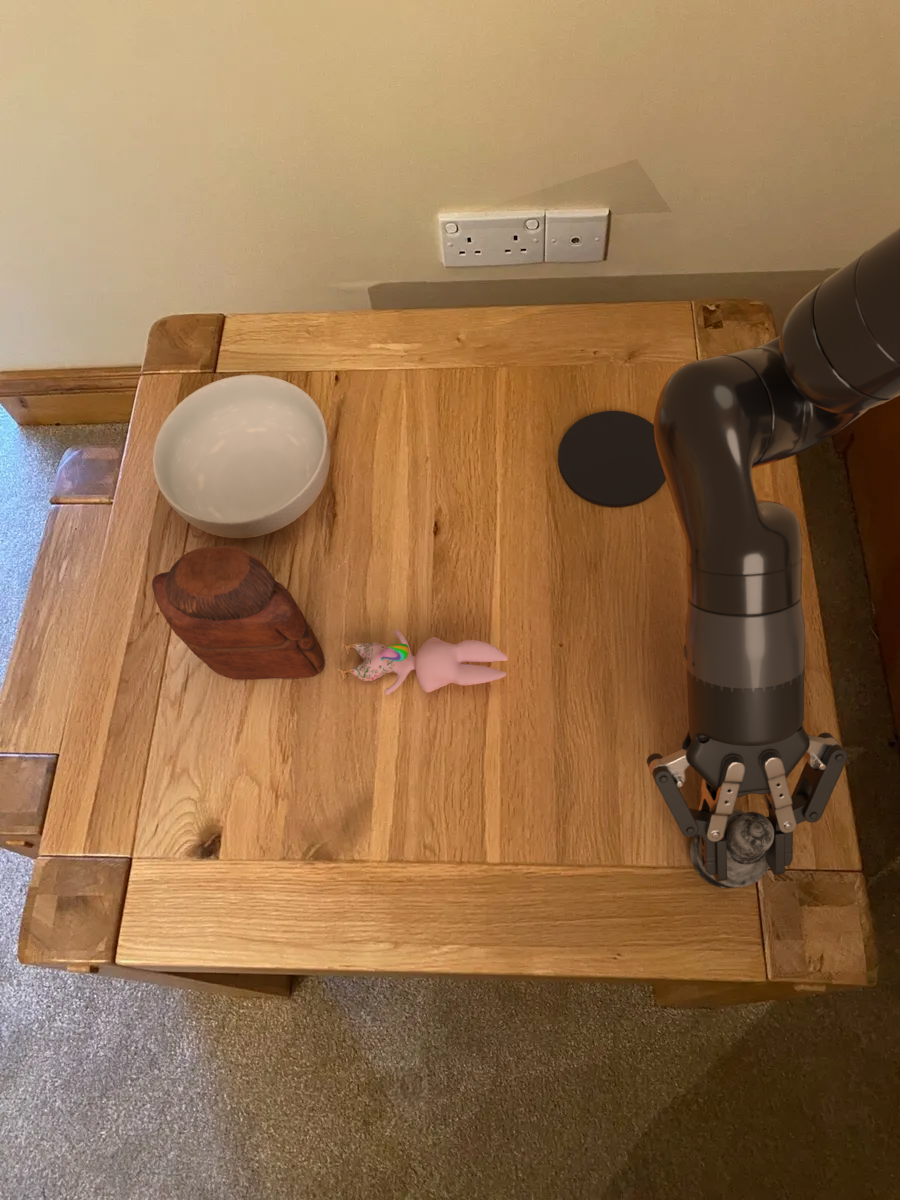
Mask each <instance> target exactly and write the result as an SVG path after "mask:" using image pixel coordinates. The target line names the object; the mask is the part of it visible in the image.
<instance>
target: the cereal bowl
mask: <svg viewBox="0 0 900 1200" xmlns="http://www.w3.org/2000/svg"><path fill="white" fill-rule="evenodd" d="M331 454H332V453H331V441H330V437H329V432H328V427H327V423H326V419H325V418H324V415H323V413H322V411H321V409H320V407H319V406H318V404H317V403H316V401H315V400H314V399H313V398H312V397H311V396H310V395H309V394H308V393H307V392H306V391H305V390H303V389H302V388H300V387H299V386H297V385H295V384H294V383H291V382H289V381H286V380H284V379H281V378H278V377H275V376H269V375H263V374H241V375H233V376H229V377H224V378H220V379H218V380H214V381H213V382H210V383H208V384H206V385H204V386H202V387H200V388H198V389H196V390H195V391H192V393H190V394H189V395H187V396H186V397H185V398H184V399H182V400H181V401H180V402H179V403H178V404H177V405H176V406H175V407H174V408H173V409H172V410H171V412H170V413H169V414H168V416H167V417H166V418H165V420H164V421H163V423H162V424H161V426H160V428H159V430H158V432H157V435H156V438H155V441H154V445H153V449H152V471H153V476H154V479H155V481H156V485H157V487H158V489H159V491H160V493H161V494H162V495H163V497H164V499H165V500H166V501H167V503H168V505H169V506H170V507H171V508H172V509H173V511H174V512H175V513H177V515H178V516H179V517H181V518H182V519H183V520H184V521H186V522H187V523H188V524H190V525H191V526H193V527H195V528H197V529H199V530H201V531H203V532H204V533H208V534H211V535H214V536H219V537H221V538H222V537H223V538H231V539H249V538H254V537H255V538H257V537H261V536H264V535H269V534H271V533H273V532H277V531H278V530H282V529H283V528H285V527H287V526H289V525H290V524H291V523H293V522H295V521H296V520H297V519H299V518H300V517H301V516H302V515H303V514H305V513H306V511H309V509H310V508H311V506H312V505H313V504H314V503H315V501H316V500H317V499H318V498H319V496H320V494H321V492H322V490H323V489H324V487H325V484H326V482H327V479H328V475H329V471H330V467H331Z"/></svg>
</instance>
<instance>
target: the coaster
mask: <svg viewBox="0 0 900 1200" xmlns="http://www.w3.org/2000/svg"><path fill="white" fill-rule="evenodd" d="M557 463H558V464H557V465H558V469H559V472H560V475H561V477H562V480H563V481H564V482H565V484H566V485H567V486H568V487H569V489H570V490H571V491H572V492H573V493H574V494H576V495H577V496H579V497H580V498H581V499H583V500H585V501H587V502H590V503H591V504H594V505H596V506H597V505H598V506H602V507H607V508H624V507H630V506H634V505H637V504H640V503H641V502H644V501H646V500H648V499H649V498H651V497H652V496H653V495H655V494H656V493H657V492H658V491H659V490H660V489H661V487H662V486H663V485H664V483H665V481H666V478H665V475H664V472H663V469H662V466H661V463H660V460H659V457H658V453H657V449H656V445H655V438H654V423H652V422H651V421H649V420H647V419H646V418H644V417H642V416H639V415H638V414H635V413H632V412H629V411H622V410H604V411H597V412H594V413H591V414H588V415H585V416H584V417H582V418H580V419H578V421H576V422H575V423H573V424H572V425H571V426H570V427H569V428H568V429H567V430H566V432H565V433H564V435H563V437H562V438H561V441H560V443H559V446H558V452H557Z"/></svg>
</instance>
